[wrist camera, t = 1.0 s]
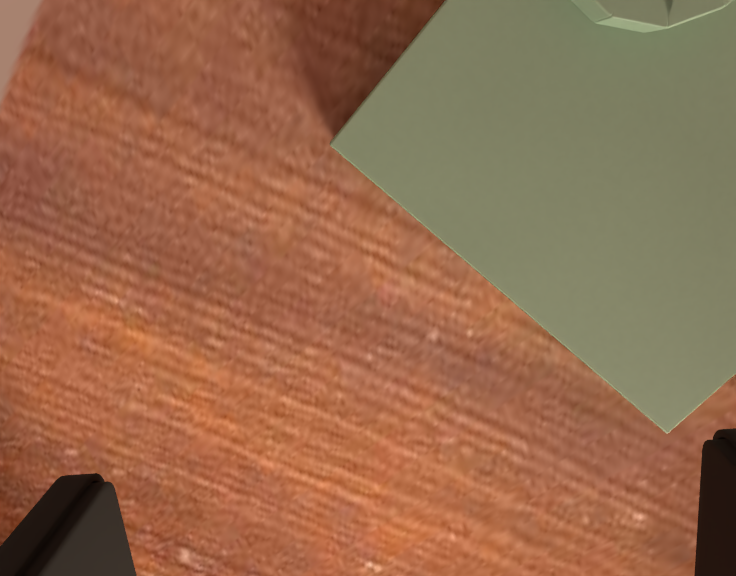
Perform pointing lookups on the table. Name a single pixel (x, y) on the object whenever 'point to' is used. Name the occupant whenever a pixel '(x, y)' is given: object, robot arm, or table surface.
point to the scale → (578, 175)
